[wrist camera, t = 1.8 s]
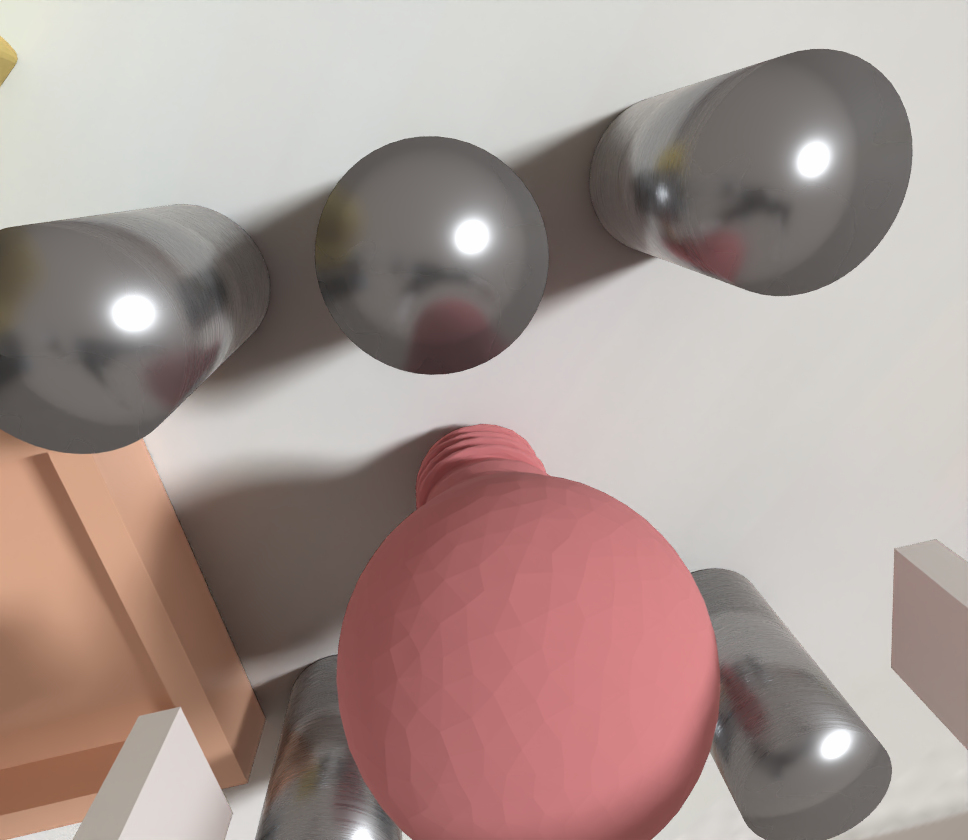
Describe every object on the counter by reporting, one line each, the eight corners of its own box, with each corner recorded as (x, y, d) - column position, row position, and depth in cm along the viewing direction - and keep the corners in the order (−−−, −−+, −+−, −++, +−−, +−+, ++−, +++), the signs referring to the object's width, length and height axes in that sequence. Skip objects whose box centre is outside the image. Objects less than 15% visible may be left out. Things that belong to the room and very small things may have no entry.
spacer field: (310, 753, 24) (269, 972, 17) (89, 222, 17) (-117, 255, 10) (762, 648, 24) (890, 824, 18) (727, 80, 17) (917, 24, 11)
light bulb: (613, 538, 22) (815, 924, 11) (405, 591, 22) (390, 1032, 11) (574, 336, 19) (788, 565, 8) (339, 396, 19) (227, 709, 8)
